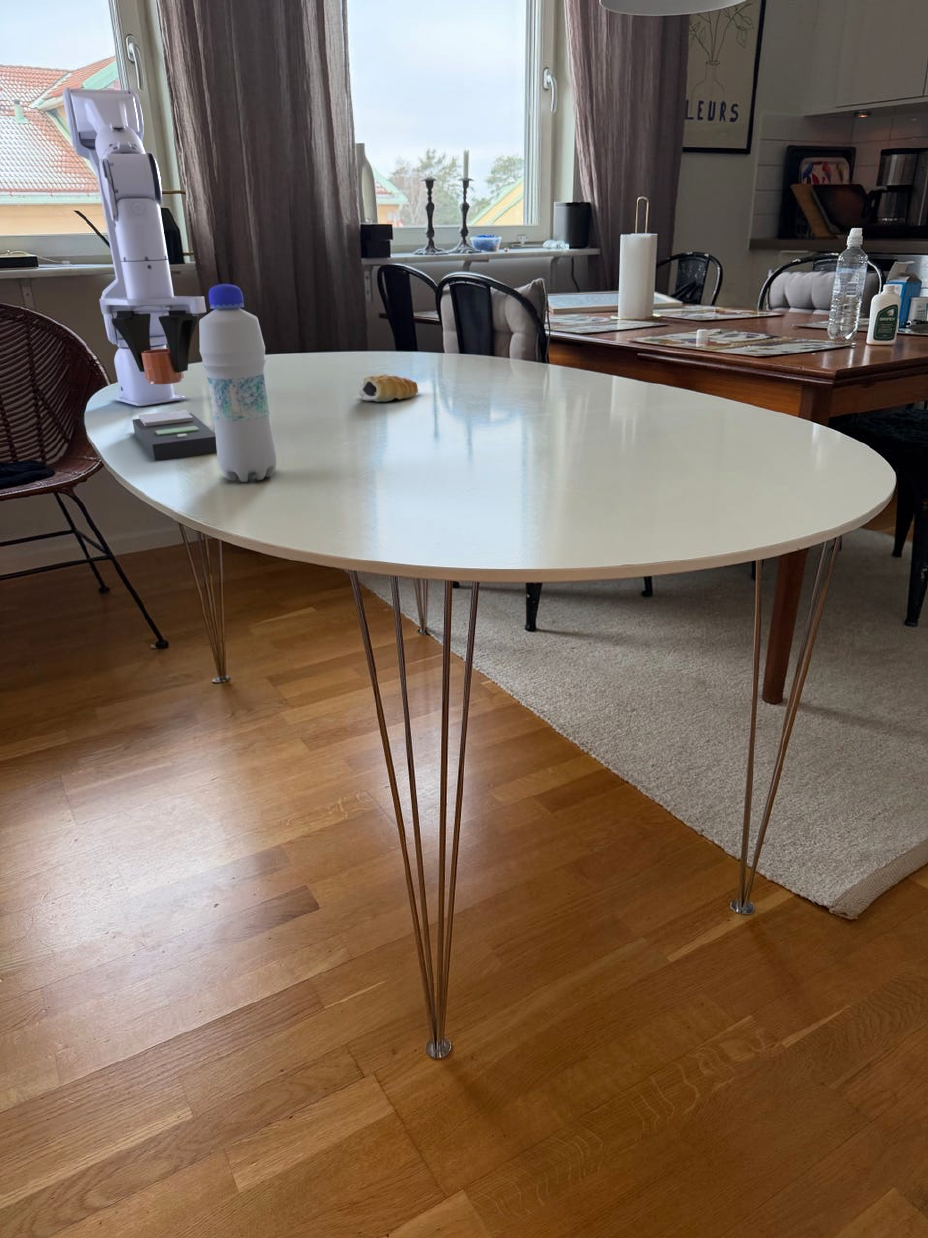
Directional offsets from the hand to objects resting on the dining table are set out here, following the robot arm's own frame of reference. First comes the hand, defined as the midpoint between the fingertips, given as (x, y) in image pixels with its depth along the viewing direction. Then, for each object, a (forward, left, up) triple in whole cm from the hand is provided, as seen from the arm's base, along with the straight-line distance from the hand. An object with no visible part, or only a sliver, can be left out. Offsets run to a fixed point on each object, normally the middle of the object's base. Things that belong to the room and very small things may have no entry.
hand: (163, 370), depth 114 cm
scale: (+6, -2, -8) cm, 10 cm away
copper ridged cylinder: (0, 0, -1) cm, 1 cm away
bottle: (+29, -5, -8) cm, 30 cm away
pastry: (+3, +35, -8) cm, 36 cm away
